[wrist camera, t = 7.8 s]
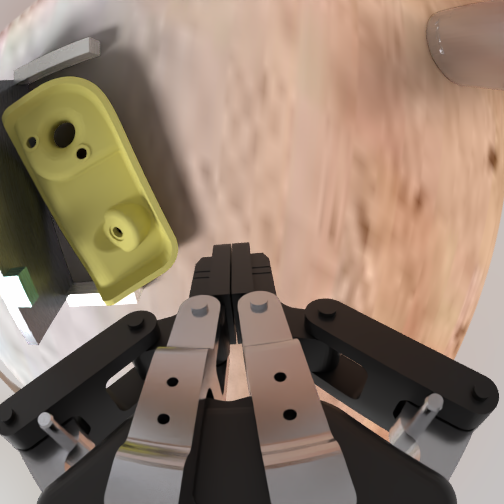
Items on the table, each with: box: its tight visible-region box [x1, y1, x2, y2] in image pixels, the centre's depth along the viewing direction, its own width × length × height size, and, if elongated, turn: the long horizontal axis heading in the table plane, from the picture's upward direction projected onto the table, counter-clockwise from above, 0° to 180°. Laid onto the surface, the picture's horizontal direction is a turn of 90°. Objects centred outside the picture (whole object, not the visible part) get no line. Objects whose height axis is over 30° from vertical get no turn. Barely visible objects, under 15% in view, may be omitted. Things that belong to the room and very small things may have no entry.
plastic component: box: [2, 76, 178, 306], centre depth 23 cm, size 20×7×10 cm
